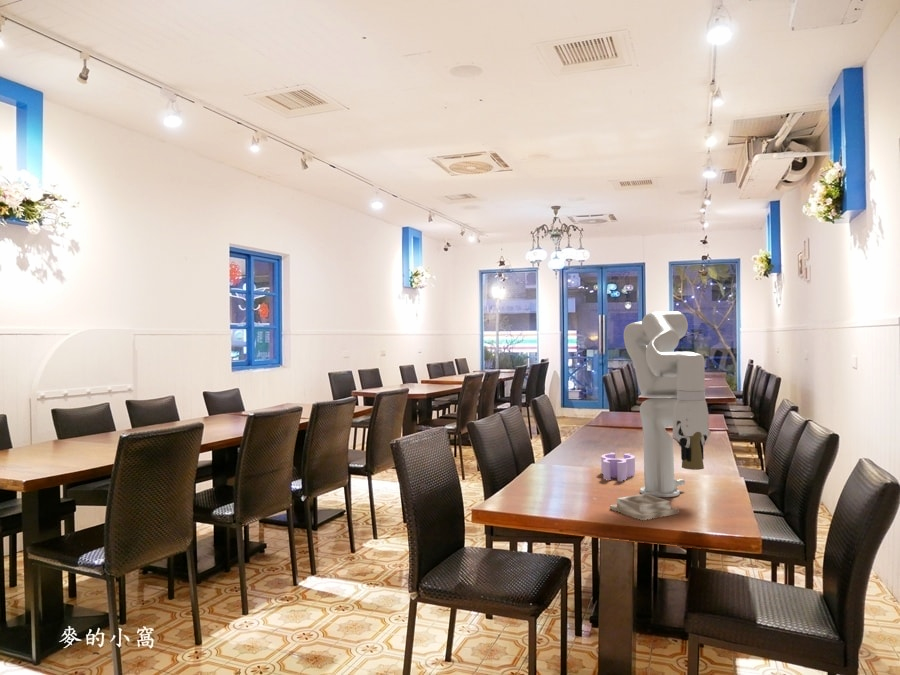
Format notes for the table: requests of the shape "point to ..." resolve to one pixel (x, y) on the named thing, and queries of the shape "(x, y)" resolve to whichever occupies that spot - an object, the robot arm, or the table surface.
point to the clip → (617, 466)
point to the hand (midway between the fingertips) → (692, 459)
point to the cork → (694, 453)
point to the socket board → (644, 507)
